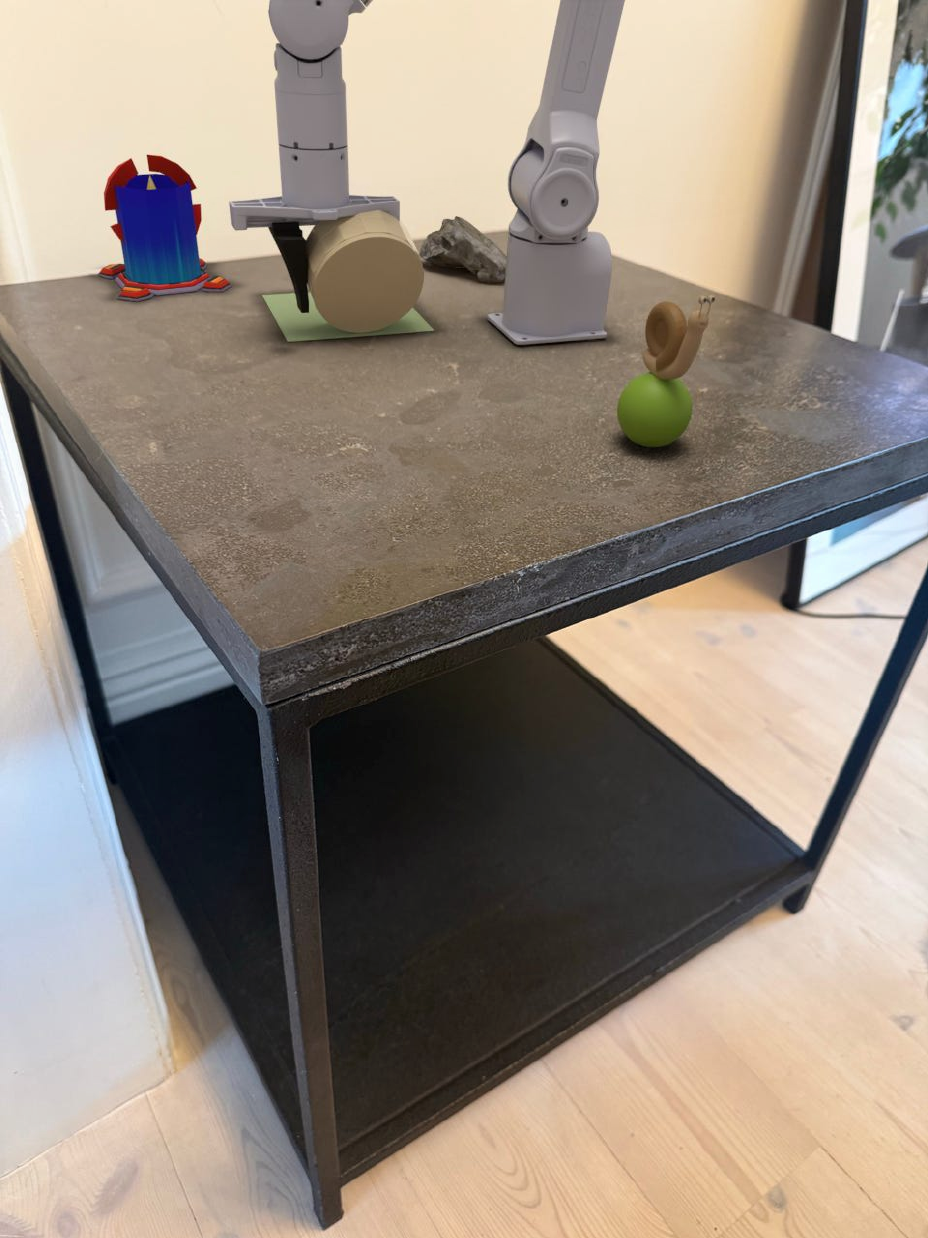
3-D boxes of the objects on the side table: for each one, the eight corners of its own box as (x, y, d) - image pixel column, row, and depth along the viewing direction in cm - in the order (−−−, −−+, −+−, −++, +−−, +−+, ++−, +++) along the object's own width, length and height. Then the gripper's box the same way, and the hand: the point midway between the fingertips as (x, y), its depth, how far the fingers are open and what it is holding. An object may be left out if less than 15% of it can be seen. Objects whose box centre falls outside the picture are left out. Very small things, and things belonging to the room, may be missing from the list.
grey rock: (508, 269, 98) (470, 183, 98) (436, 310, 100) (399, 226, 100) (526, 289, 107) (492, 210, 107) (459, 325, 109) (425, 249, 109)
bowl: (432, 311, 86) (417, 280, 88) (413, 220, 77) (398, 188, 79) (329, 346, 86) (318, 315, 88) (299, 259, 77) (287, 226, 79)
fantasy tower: (120, 303, 90) (97, 168, 82) (94, 271, 98) (70, 146, 91) (237, 290, 95) (224, 162, 87) (203, 260, 103) (188, 141, 96)
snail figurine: (644, 470, 65) (675, 299, 58) (599, 433, 70) (621, 271, 63) (707, 459, 67) (744, 293, 60) (658, 424, 72) (687, 266, 65)
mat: (393, 287, 98) (393, 287, 98) (434, 330, 87) (434, 330, 87) (262, 295, 93) (261, 295, 93) (287, 341, 83) (287, 341, 83)
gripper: (232, 154, 71) (248, 328, 79) (410, 151, 75) (409, 316, 83) (219, 138, 76) (236, 303, 84) (387, 137, 81) (388, 293, 89)
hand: (321, 308), depth 84 cm, fingers closed on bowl, 3 cm apart
